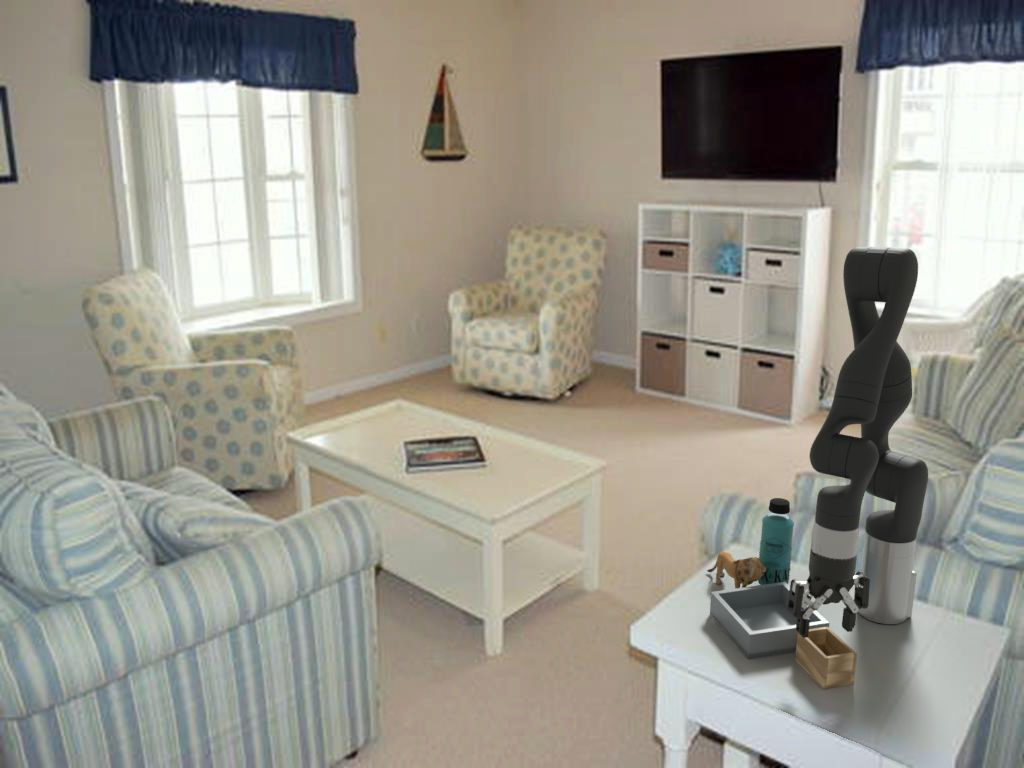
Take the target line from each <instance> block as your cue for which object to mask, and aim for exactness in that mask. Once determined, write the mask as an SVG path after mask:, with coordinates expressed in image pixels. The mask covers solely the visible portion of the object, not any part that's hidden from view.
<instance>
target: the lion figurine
mask: <svg viewBox="0 0 1024 768" xmlns="http://www.w3.org/2000/svg"><path fill="white" fill-rule="evenodd" d="M715 570H716V573H715V584H716V585H721V584H722V581H721V580H720V579H721V578H720V577H725V572H726V574H727V575H728V576H729V577H730V578H731V579H732V578H733V580H734V589H736V588H744V587H748V586H749V585H752V584H753V583H755V582H758V580H759V579H760V578H761V576H762V575H763V574H764V572H765V571H766V566H764V565H762V564H761V563H760V560H759V557H757V556H754V557H753V556H751V557H747V558H743V559H741V558H740V559H737V560H736V559H735V558H734V557H733V556H732V554H731V553H730V552H728V551H724V550H722V551H720V552H719V553H718V555H717V557H716V562H715V564H714V566H713V567H712V568H709V569H707V571H706V572H708V573H713V572H714V571H715ZM724 570H725V572H724Z"/></svg>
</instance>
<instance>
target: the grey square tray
mask: <svg viewBox="0 0 1024 768" xmlns="http://www.w3.org/2000/svg"><path fill="white" fill-rule="evenodd" d="M789 590H790V585H789V584H787V583H786V582H780V583H772V584H765V585H760V584H758V585H751V586H746V587H744V588H742V587H740V588H736V589H735V588H730V589H724V590H715V591H711V592H710V603H709V605H710V608H709V615H710V617H711V618H712V619H713V620H714V621H715V622H716V623H717V625H718V626H719V627H720V628H721V629H722V631H724V633H725V634H726V635H727V636H728V638H729V639H730V640H731V641H732V642H733V643H734V644H735V645H736V647H737V646H738V647H737V648H738V649H739V650H740V651H741V652H742V654H743V653H744V654H745V655H744V654H743V655H744V656H745V657H746V658H747V659H748V660H752V659H757V658H763V657H764V658H765V657H770V656H775V655H777V656H778V655H782V654H788V653H796V646H797V635H798V631H797V630H796V622H797V617H795V616H794V615H793V614H792V613H791V612H790V611H788V610H787V603H788V596H789ZM807 607H808V606H807ZM807 607H806V608H807ZM805 610H806V609H805ZM809 619H810V624H809V629H815V628H821V627H829V628H830V622H829V621H828V620H827V619H826V618H825V617H824V616H823V615H822V614H820V613H819V611H818V610H815V611H814V612H813V613H812V614H811V615H810V617H809Z"/></svg>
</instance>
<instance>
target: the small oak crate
mask: <svg viewBox="0 0 1024 768" xmlns="http://www.w3.org/2000/svg"><path fill="white" fill-rule="evenodd" d="M857 656H858V653H857V652H856V651H855V650H854V649H853V648H852V647H850V646H849V644H848V643H846V642H845V641H844V640H843V639H842V638H841V637H840V636H839V635H837V633H835V632H834V631H833V630H832V628H830V626H829V627H821V628H815V629H809V633H808V637H805V638H803V637H802V636H801V635H800V634H799V632H798V635H797V646H796V652H795V661H796V663H797V664H798V665H799V666H800V667H801V668H802V669H803V670H804V672H805V673H807V674H808V675H809V677H810V678H812V680H813V681H814V682H815V683H816V684H817V685H818V687H820V688H821V689H822V690H826V689H832V688H839V687H844V686H850V685H854V684H855V675H856V669H857V667H856V665H857Z"/></svg>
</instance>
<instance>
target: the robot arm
mask: <svg viewBox="0 0 1024 768" xmlns="http://www.w3.org/2000/svg"><path fill="white" fill-rule="evenodd" d="M844 260H845V261H844V263H843V278H842V279H843V287H844V295H845V300H846V305H847V311H848V314H849V320H850V326H851V331H852V332H851V333H852V338H853V339H852V340H853V347H854V349H853V350H852V351H851V353H850V354H849V355H848V356H847V358H846V359H845V360H844V362H843V364H842V366H841V368H840V371H839V373H838V377H837V381H836V384H835V385H836V386H835V389H834V395H833V400H832V404H831V406H830V407H831V408H830V409H829V412H828V414H827V416H826V418H825V421H824V422H823V423H822V424H823V425H822V426H821V428H820V429H819V431H818V433H817V435H816V437H815V438H814V440H813V442H812V444H811V447H810V450H809V462H810V464H811V467H812V468H813V470H815V472H817V473H819V474H823V475H829V476H832V477H833V476H834V477H838V478H843V479H848V480H850V483H849V484H846V485H828V486H824V487H822V488H821V489H820V490H819V491H818V494H817V496H816V497H817V499H816V506H815V515H814V524H813V527H812V531H811V541H810V549H809V550H810V551H809V561H808V572H809V575H808V577H807V579H806V580H800V581H798V579H796V578H792V580H791V581H790V583H789V584H790V585H789V586H790V590H789V596H788V603H787V610H788V611H790V612H791V613H792V614H793V615H794V616H795V617H797V622H796V630H797V631H798V632H799V634H800V635H801V636H802V637H803V638H805V637H808V633H809V624H810V619H809V617H810V615H811V614H812V613H813V612H814V611H815V610H816V611H818V610H819V609H820V608H821V606H822V605H824V606H825V605H829V604H840V603H841V601H842V603H843V604H844V606H845V607H843V611H842V618H841V619H842V621H841V627H842V629H844V630H845V631H846V632H847V633H850V632H853V629H855V626H856V620H857V613H858V614H859V615H860V616H862V617H863V618H865V619H867V620H869V621H871V622H874V623H878V624H883V625H898V624H901V623H903V622H904V621H906V619H908V618H912V617H913V616H912V615H913V607H914V600H915V590H916V583H917V582H916V581H917V575H918V574H917V572H916V571H915V570H914V562H915V553H916V546H917V539H918V538H917V537H918V530H919V527H920V524H921V520H922V516H923V510H924V502H925V498H926V492H927V488H928V482H929V481H928V480H929V468H928V465H927V463H926V462H925V461H924V460H922V459H920V458H917V457H914V456H909V455H907V454H903V453H899V452H896V451H893V450H891V448H890V445H889V435H890V431H891V429H892V428H893V426H894V424H895V423H896V422H897V421H898V420H899V418H900V417H902V415H903V414H904V413H905V411H906V410H907V409H908V407H909V406H910V403H911V401H912V398H913V379H912V378H913V377H912V366H911V362H910V359H909V357H908V355H907V353H906V352H905V350H904V349H903V348H902V346H901V345H900V344H899V342H898V338H899V335H900V334H901V331H902V328H903V324H904V322H905V319H906V317H907V314H908V310H909V308H910V305H911V302H912V300H913V296H914V293H915V291H916V290H915V289H916V286H917V282H918V276H919V262H918V258H917V255H916V253H915V252H914V250H912V249H910V248H907V247H897V246H895V247H889V246H887V247H886V246H857V247H853V248H852V249H850V250H849V251H848V252H847V254H846V257H845V259H844ZM876 303H884V307H883V309H882V312H881V315H879V313H878V309H877V305H876ZM851 425H860V431H861V432H860V436H852V435H847V434H843V433H841V432H842V431H843V430H844V429H846V427H848V426H851ZM865 493H868V494H870V495H871V496H873V497H876V498H880V499H883V500H886V501H888V502H892V503H895V505H894V509H885V510H883V509H882V510H877V511H874V512H872V513H870V514H868V515H867V517H866V520H865V528H864V529H865V531H864V540H863V550H862V558H861V566H860V567H861V568H860V571H857V572H856V567H857V560H858V559H857V558H858V552H859V551H858V550H859V542H860V541H859V540H860V534H859V532H860V531H859V530H860V529H859V528H860V519H861V509H862V506H863V500H864V497H865ZM853 587H854V596H853V597H854V599H853V597H852V596H851V594H850V593H849V592H850V591H851V589H852V588H853ZM812 598H813V599H815V600H812ZM807 606H808V607H807ZM806 607H807V608H806ZM805 609H806V610H805Z"/></svg>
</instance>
